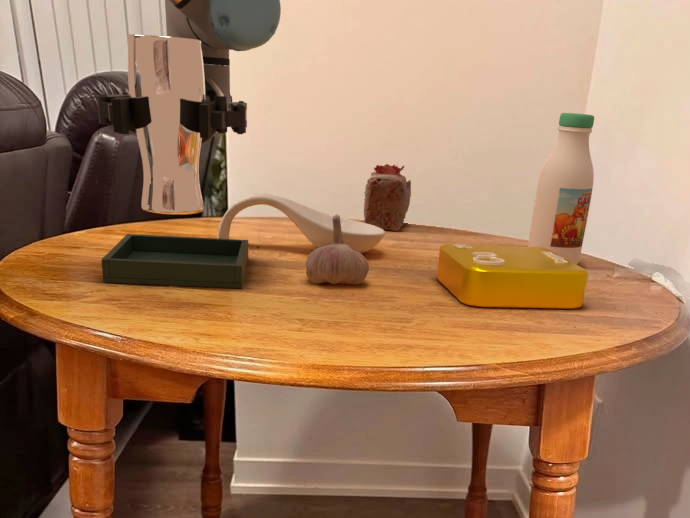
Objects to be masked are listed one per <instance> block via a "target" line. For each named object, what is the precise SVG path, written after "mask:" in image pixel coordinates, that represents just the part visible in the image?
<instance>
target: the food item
mask: <svg viewBox="0 0 690 518" xmlns="http://www.w3.org/2000/svg"><path fill="white" fill-rule="evenodd" d="M404 169H405V165H402V166H401V167H398V165H396V164H393V165H390V164H389V163H385V164H384V165H381V164H376V165H375V167H373V170H374V171H372V172H371V173H370V177H369V178H368V179H367V181H366V184H365V189H364V193H363V194H364V199H363V200H364V203H363V219H364V223H367V224H370V225H374V226H376V227H379V228H381V229H383V230H384V231H391V232H398V231H399V230H400V229H401V227H404V224H405V223H404V222H405V219H406V215H407V212H408V211H409V207H410V204H411V197H412V182H411V181H412V180H411V179H409V180H408V181H407V177H406V176H405V175H403V174H401V171H403V170H404Z"/></svg>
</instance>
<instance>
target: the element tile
mask: <svg viewBox="0 0 690 518" xmlns="http://www.w3.org/2000/svg"><path fill="white" fill-rule="evenodd" d="M436 279H437V280H438V282H439V283H440V284H442V286H444V288H446V289H447V290H448V291H449V292H450V293H451V294H452V295H453V296H454V297H455V298H456V299H457V300H458V301H459V302H460V303H462V304H464V305H467V306H471V307H477V308H506V309H507V308H508V309H511V308H512V309H552V310H553V309H556V310H557V309H560V310H561V309H562V310H574V309H575V310H576V309H579V308H581V307H582V306H583V304H584V298H585V293H586V287H587V283H588V279H589V271H588V270H587V269H585V268H583V267H581V266H580V265H578V264H577V265H576V264H574V263H573V262H571V261H569V260H567V259H565V258H563V257H561V256H560V255H558V254H556V253H554V252H552V251H550V250H548V249H546V248H543V247H528V245H527V246H525V245H524V246H523V245H500V244H499V245H494V244H469V243H443V244H442V245H441V246H440V247H439V252H438V261H437V270H436Z"/></svg>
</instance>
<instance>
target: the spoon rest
mask: <svg viewBox="0 0 690 518" xmlns="http://www.w3.org/2000/svg"><path fill="white" fill-rule="evenodd" d="M257 205H258V206H259V205H263V206H270V207H273V208H275V209H277V210H279V211H280V212H281V213H283V214H284V215H285V216H286V217H287V218H289V220H290V221H291V222H293V223H294V226H296V228H298V229H299V231H301V233H302V234H303V235H304V237H305V238H306V239H307V240H308V241H309V242H310V243H311V244H312V245H313V246H315V248H316V249H317V248H320V247H323V246H326V245H331V244H332V242H333V238H334V228H333V216H334V215H332V214H329V213H325V212H321V211H318V210H316V209H313V208H310V207H308V206H306V205H304V204H301V203H298V202H296V201H293V200H291V199H288V198H285V197H282V196H280V195H274V194H268V193H256V194H251V195H247V196H244V197H242V198H240V199H239V200H237V201H235V202H234V203H233V204H232V205H231V206H230V207H229V208H228V209H227V210H226V212H225V213H224V214H223V216H222V218H221V220H220V223H219V226H218V229H217V237H216V238H218V239H230V231H231V226H232V223H233V220H234V219H235V217H236V216H237V215H238V214H239V213H240V212H242V211H243V210H245V209H247V208H249V207H253V206H257ZM340 223H341V231H342V236H343V240H344V244H346V245H348V246H350V247H351V248H352V249H353V250H355V251H358V252H360V253H361V254H363V253H366V252H368V251H371V250H372V249H374V248H375V247H376V246H377V245H379V243H381V241H382V240H383V239H384V238H385V236H386V230H383V229H381V228H379V227H376V226H374V225H370V224H367V223H365V222H362V221H358V220H353V219H349V218H345V217H340Z"/></svg>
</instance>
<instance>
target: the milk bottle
mask: <svg viewBox="0 0 690 518" xmlns="http://www.w3.org/2000/svg"><path fill="white" fill-rule="evenodd" d="M594 124H595V116H594V115H592V114H587V113H574V112H562V113H560V115H559V121H558V128H557V130H558V137H557V139H556V142H555V144H554V147H552V150H551V152H550V153H549V155H548V156H547V158H546V160H545V162H544V164H543V166H542V168H541V171H540V174H539V178H538V183H537V187H536V192H535V199H534V206H533V210H532V215H531V216H532V217H531V223H530V230H529V236H528V242H527V246H528V247H543V248H546V249H548V250H550V251H552V252H554V253H556V254H558V255H560V256H561V257H563V258H565V259H567V260H569V261H571V262H573V263H574V264H576V265H578V264H579V262H580V258H581V253H582V249H583V243H584V237H585V233H586V227H587V222H588V216H589V212H590V206H591V200H592V195H593V187H594V178H595V176H594V175H595V174H594V167H593V161H592V156H591V151H590V136H591V133H592V132H593V127H594Z"/></svg>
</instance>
